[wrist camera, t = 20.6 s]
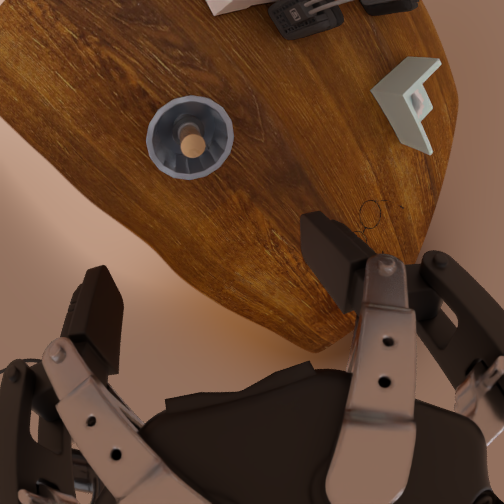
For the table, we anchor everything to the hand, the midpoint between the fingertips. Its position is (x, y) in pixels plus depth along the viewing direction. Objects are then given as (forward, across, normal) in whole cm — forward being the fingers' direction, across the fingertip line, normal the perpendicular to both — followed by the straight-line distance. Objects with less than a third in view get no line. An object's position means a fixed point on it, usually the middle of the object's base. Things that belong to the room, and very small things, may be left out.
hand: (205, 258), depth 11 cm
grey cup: (+28, -1, -2) cm, 28 cm away
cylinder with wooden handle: (+27, -1, -2) cm, 27 cm away
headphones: (+28, -24, -19) cm, 41 cm away
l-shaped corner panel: (+28, -38, -4) cm, 47 cm away
